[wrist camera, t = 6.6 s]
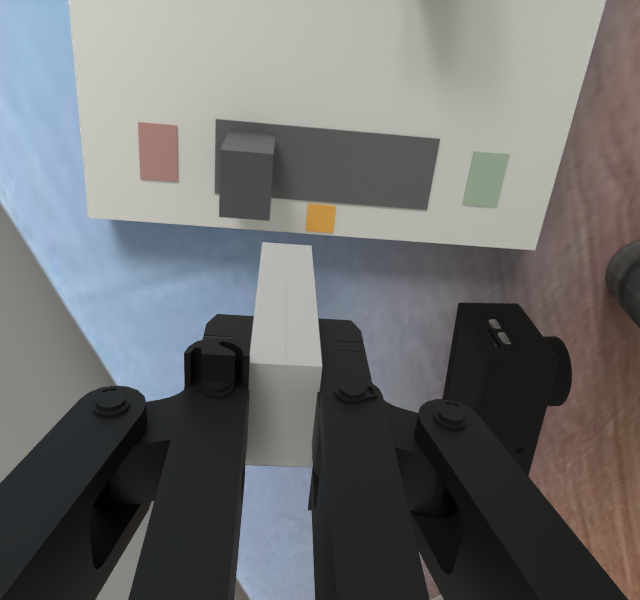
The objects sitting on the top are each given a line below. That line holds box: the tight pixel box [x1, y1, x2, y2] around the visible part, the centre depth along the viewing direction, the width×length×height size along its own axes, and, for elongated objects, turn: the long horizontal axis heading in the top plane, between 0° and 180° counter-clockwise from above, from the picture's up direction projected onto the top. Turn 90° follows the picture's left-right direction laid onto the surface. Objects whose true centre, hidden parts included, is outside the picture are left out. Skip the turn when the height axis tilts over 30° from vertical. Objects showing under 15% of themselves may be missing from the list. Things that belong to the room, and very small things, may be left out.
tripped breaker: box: [219, 130, 275, 221], centre depth 29 cm, size 3×2×4 cm
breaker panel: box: [68, 0, 606, 250], centre depth 30 cm, size 20×26×3 cm
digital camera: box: [443, 303, 572, 476], centre depth 39 cm, size 10×5×7 cm, turn 178°
